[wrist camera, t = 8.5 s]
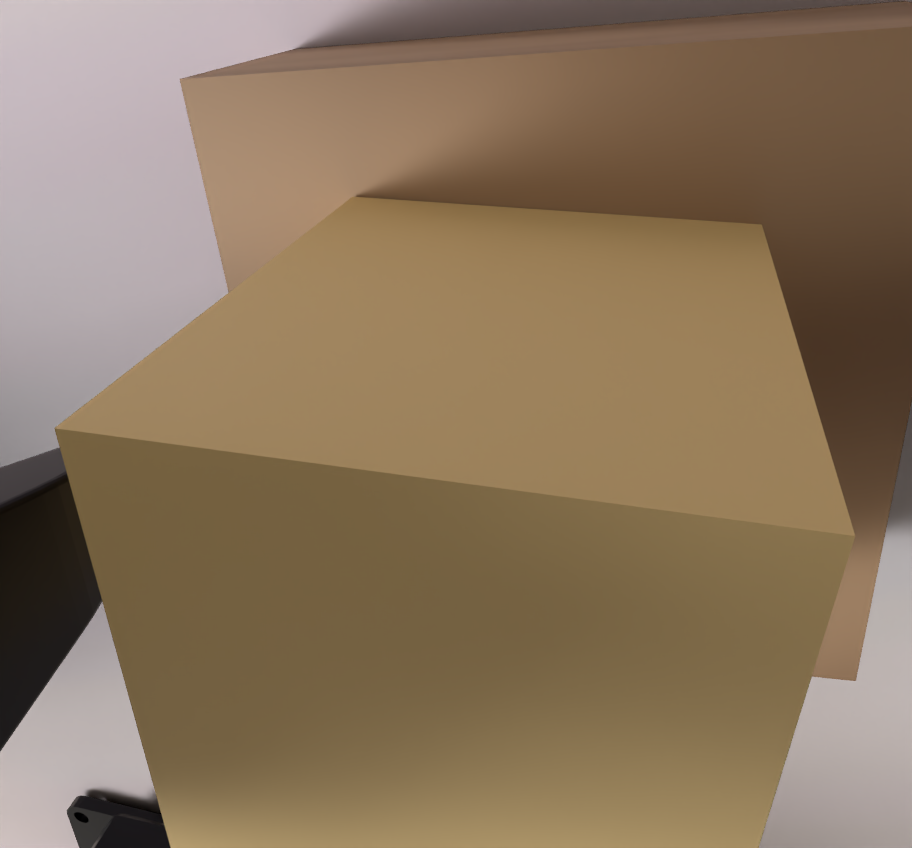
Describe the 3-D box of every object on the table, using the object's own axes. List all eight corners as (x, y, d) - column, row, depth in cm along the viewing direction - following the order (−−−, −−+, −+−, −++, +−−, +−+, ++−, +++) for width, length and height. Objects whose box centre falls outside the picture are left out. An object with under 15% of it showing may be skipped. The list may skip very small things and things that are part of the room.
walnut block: (819, 525, 16) (856, 681, 12) (375, 496, 18) (305, 622, 15) (898, -1, 12) (987, 21, 8) (303, 47, 14) (180, 79, 10)
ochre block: (696, 560, 12) (709, 1002, 7) (371, 513, 13) (177, 871, 8) (760, 225, 10) (854, 536, 5) (352, 196, 11) (53, 428, 6)
